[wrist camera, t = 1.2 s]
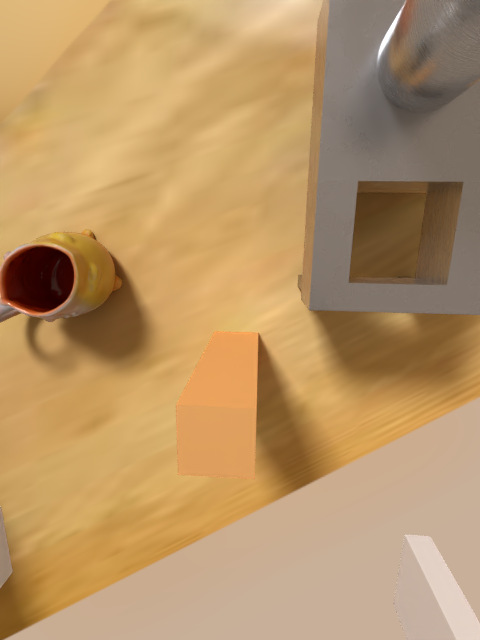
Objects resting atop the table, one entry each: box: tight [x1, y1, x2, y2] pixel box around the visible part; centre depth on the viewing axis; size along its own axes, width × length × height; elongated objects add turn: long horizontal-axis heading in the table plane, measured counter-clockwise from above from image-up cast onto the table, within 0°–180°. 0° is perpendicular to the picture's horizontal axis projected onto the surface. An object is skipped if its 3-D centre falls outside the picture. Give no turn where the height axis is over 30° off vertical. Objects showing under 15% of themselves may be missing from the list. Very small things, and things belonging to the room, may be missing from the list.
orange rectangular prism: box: [176, 331, 258, 479], centre depth 23 cm, size 4×4×14 cm
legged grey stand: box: [298, 0, 480, 315], centre depth 18 cm, size 17×10×16 cm, turn 179°
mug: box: [0, 230, 122, 322], centre depth 27 cm, size 12×7×7 cm, turn 116°
